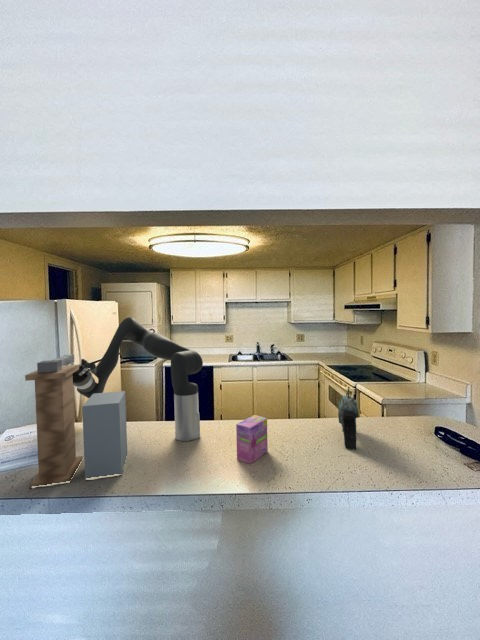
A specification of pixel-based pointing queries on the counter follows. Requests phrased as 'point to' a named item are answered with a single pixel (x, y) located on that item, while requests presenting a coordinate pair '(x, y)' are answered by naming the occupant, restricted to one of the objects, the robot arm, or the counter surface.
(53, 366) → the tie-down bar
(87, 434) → the slate block
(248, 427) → the box
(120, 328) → the robot arm
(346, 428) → the dark grey upright piece
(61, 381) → the walnut stand
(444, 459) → the counter surface
